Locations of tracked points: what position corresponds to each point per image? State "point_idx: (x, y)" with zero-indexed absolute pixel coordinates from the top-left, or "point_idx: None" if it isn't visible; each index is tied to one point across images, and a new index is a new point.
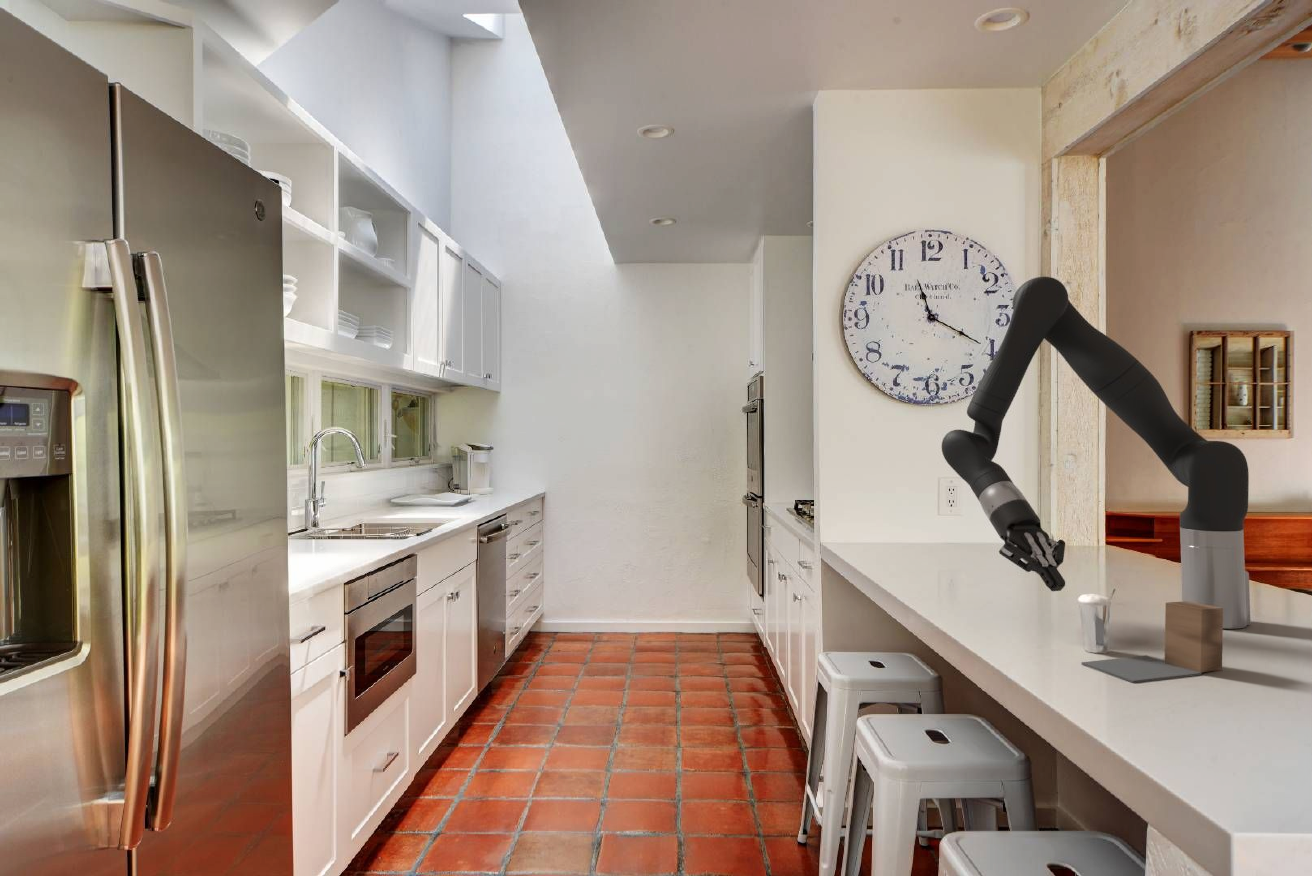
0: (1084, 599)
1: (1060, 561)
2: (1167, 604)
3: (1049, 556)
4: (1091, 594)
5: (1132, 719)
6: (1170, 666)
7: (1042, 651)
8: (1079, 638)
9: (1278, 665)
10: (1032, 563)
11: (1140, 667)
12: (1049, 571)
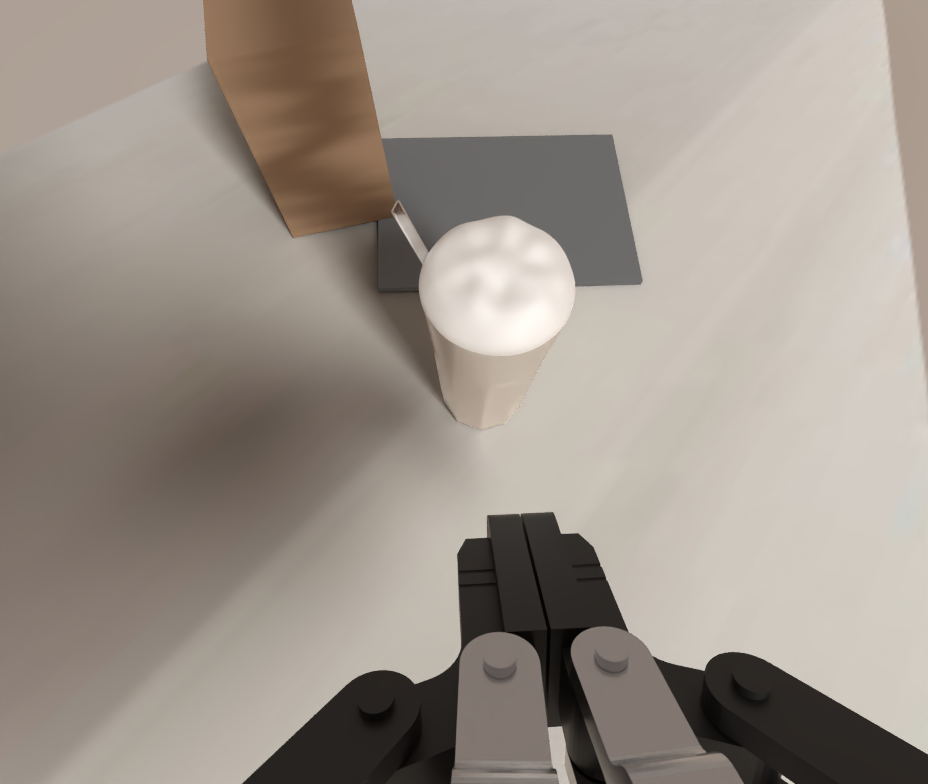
0: (568, 269)
1: (382, 686)
2: (358, 33)
3: (499, 751)
4: (490, 292)
5: (766, 6)
6: (409, 192)
7: (681, 440)
8: (401, 570)
9: (90, 153)
10: (768, 669)
11: (502, 205)
12: (581, 595)
